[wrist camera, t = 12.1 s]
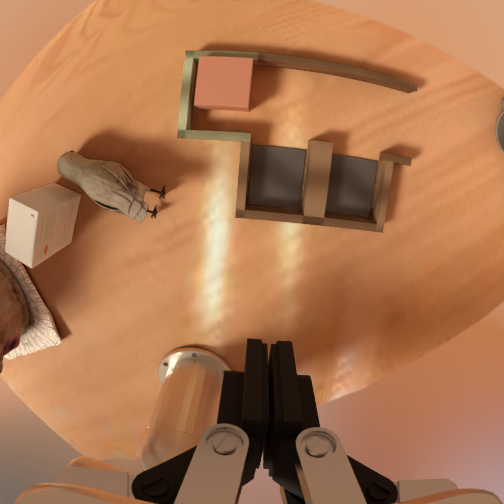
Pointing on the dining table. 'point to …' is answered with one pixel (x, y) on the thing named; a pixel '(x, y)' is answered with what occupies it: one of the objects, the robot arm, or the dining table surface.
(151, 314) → the dining table surface
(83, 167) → the decorative bird
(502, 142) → the ceramic mug
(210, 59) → the block
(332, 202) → the trap run
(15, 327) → the cookie jar
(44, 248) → the small box
